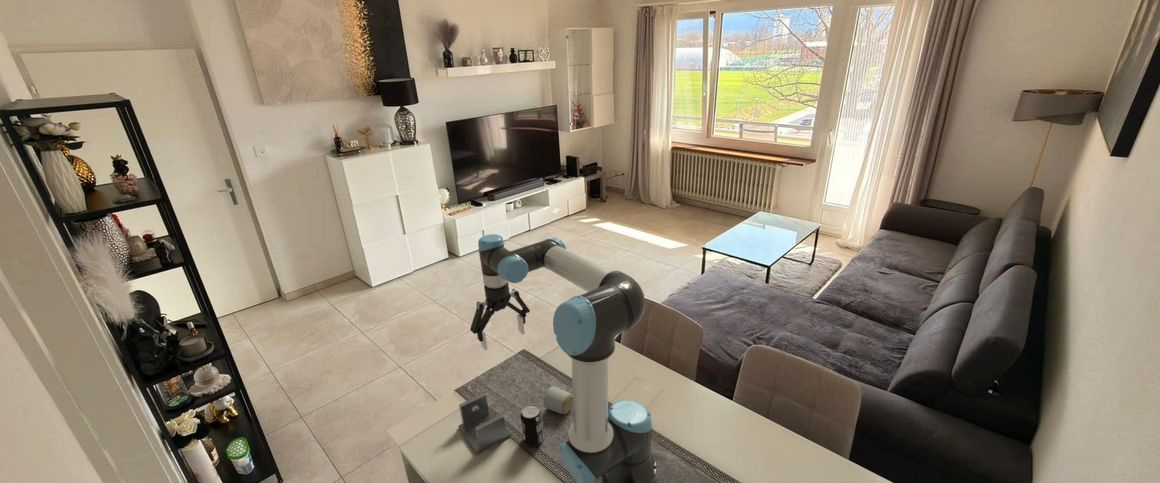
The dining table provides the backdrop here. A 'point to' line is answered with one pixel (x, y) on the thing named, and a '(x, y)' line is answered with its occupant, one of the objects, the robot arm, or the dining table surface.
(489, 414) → the holder
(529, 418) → the beverage can
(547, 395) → the ceramic mug
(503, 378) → the dining table surface
